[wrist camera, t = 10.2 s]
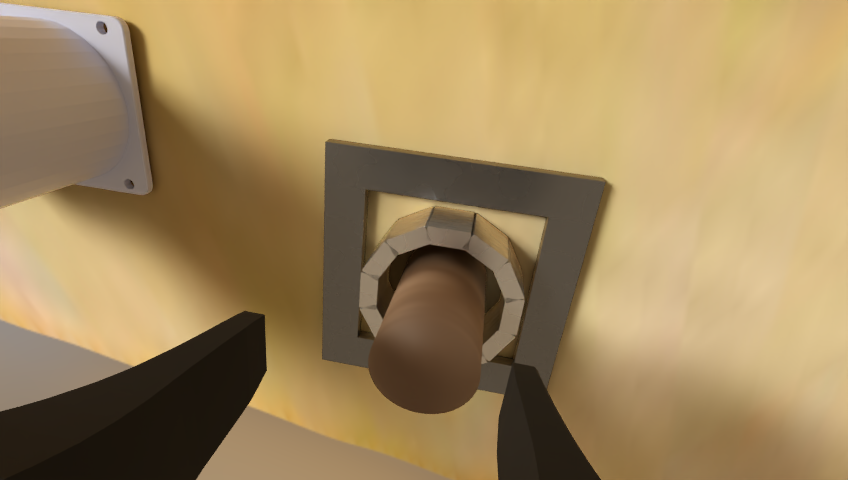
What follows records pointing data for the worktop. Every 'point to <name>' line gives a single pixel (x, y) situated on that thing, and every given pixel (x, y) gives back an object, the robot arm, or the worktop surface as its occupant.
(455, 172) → the cup bracket
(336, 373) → the worktop surface
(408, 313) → the walnut peg
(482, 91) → the worktop surface
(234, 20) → the worktop surface
